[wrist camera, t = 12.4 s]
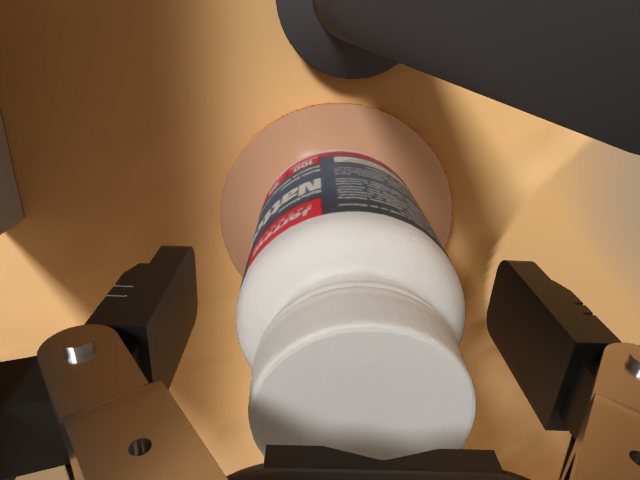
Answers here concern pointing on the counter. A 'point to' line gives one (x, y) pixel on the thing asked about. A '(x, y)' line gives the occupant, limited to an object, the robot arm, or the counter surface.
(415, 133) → the coaster
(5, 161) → the panel
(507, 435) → the counter surface
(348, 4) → the post
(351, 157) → the pill bottle
